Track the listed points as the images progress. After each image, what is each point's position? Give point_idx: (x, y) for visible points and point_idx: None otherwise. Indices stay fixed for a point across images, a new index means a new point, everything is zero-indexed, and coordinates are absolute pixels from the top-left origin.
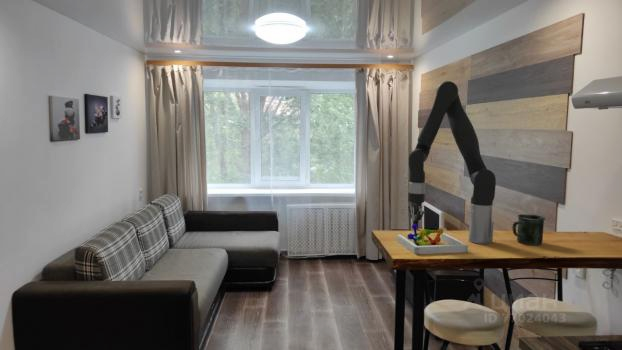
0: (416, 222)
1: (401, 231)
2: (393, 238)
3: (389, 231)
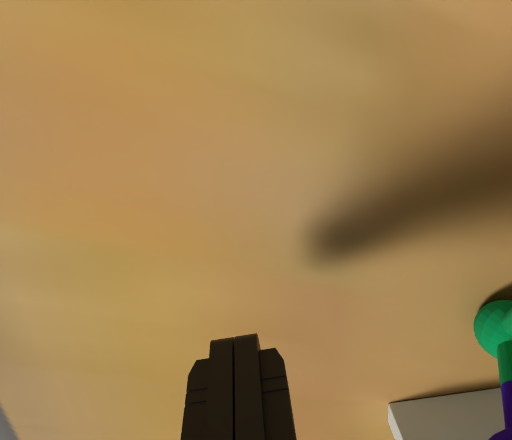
0: (272, 437)
1: (4, 352)
2: (297, 430)
3: (43, 433)
